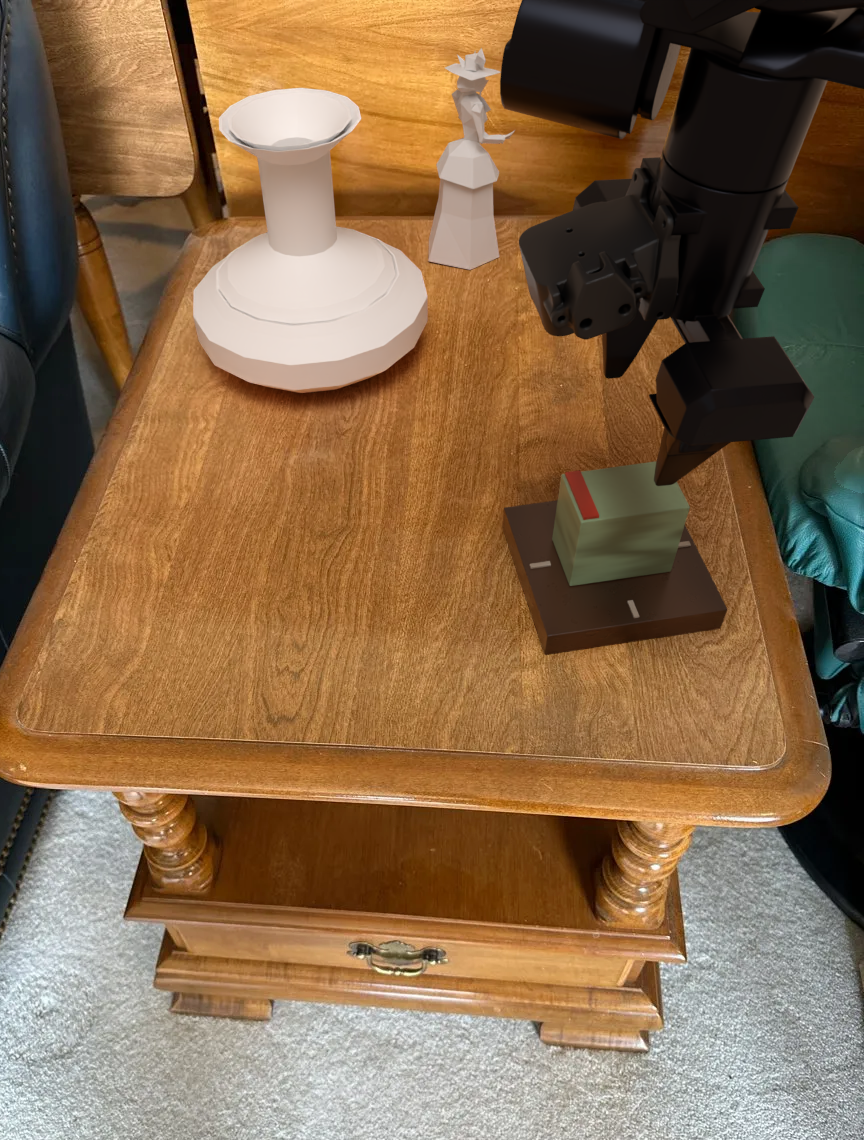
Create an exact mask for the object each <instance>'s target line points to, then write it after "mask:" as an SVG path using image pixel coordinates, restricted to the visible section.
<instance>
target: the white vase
mask: <svg viewBox="0 0 864 1140" xmlns="http://www.w3.org/2000/svg"><path fill="white" fill-rule="evenodd" d="M361 120H362V115H361V111H360V106H358V104H357V103H355V102H354V101H353V100H352V99H350V98H349V97H348V96H347V95H344V94H340V93H337V92H333V91H330V90H327V89H317V88H307V87H292V88H282V89H281V88H280V89H272V90H268V91H264V92H260V93H256V94H252V95H247V96H246V97H244V98H242V99H241V100H238V101H237V102H234V103H233V104H231V105H229V106H228V107H227V108H226V110H224V112H223V113H221V115H220V116H219V117H218V131H219V132H220V133H221V134H222V135H223V136H224V137H225V139H227V141H228V142H230V143H232V144H234V145H235V146H237V147H239V148H240V149H242V150H244V151H246V152H248V153H249V154H251V155H253V156H254V157H256V159H257V166H258V172H259V181H260V187H261V188H260V189H261V194H262V201H263V203H262V204H263V209H264V215H265V217H264V218H265V223H266V230H267V231H266V232H264V233H261V234H258V235H257V236H254V237H252V238H250V239H249V240H248V241H246V242H244V243H242V244H241V245H239V246H238V247H237V248H235V249H234V250H231V252H229V253H228V254H227V255H226V256H225V257H224V258H223V259H221V260H219V261H218V262H216V263H215V264H213V266H212V267H210V269H209V270H208V272H206V274H205V275H204V276H203V278H201V280H200V282H199V283H198V284H197V285H196V287H195V288H194V289H193V295H192V296H193V298H192V299H193V301H192V302H193V303H192V315H193V316H192V318H193V322H194V327H195V331H196V335H197V341H198V342H199V344H200V345H201V348H202V349H203V350H204V352H205V353H206V354H207V356H208V358H209V359H210V362H212V364H213V365H214V366H215V367H217V368H219V369H221V370H223V371H225V372H227V373H229V374H231V375H233V376H235V377H238V378H239V379H241V380H244V381H245V382H248V383H250V384H255V385H257V386H258V385H259V386H263V387H266V388H271V389H277V390H282V391H283V390H284V391H288V392H293V393H299V394H303V393H305V394H306V393H314V392H315V393H317V392H324V391H334V390H338V389H342V388H344V387H347V386H350V385H354V384H357V383H360V382H362V381H365V380H368V379H370V378H372V377H375V376H377V375H379V374H381V373H383V372H385V371H387V370H388V369H389V368H390V367H392V366H393V365H394V364H396V362H398V361H399V360H401V359H402V358H403V357H404V356H406V354H408V353H409V352H411V351H412V350H413V349H414V348H415V347H416V345H417V343H418V341H419V339H420V337H421V335H422V333H423V331H424V329H425V327H426V326H427V323H428V320H429V317H428V316H429V315H428V313H429V312H428V311H429V310H428V307H429V306H428V305H429V303H428V300H429V298H428V291H427V288H426V284H425V281H424V276H423V273H422V270H421V269H420V268H419V267H418V266H417V265H416V264H415V263H414V262H413V261H412V260H411V259H410V258H409V257H408V256H407V255H406V254H405V253H404V252H403V251H402V250H401V249H399V248H397V247H394V246H392V245H390V244H388V243H386V242H384V241H383V240H381V239H379V238H377V237H374V236H372V235H368V234H367V233H364V232H361V231H359V230H356V229H353V228H348V227H343V226H337V223H336V222H337V220H336V208H335V207H336V206H335V197H334V183H333V172H332V171H333V170H332V157H331V150H333V149H334V148H335V147H336V146H337V145H339V143H341V142H342V141H343V140H344V139H345V138H346V137H347V136H348V135H349V134H351V133H352V132H353V131H354V130H355V128H356V127H357V126H358V124H359V122H361Z"/></svg>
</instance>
